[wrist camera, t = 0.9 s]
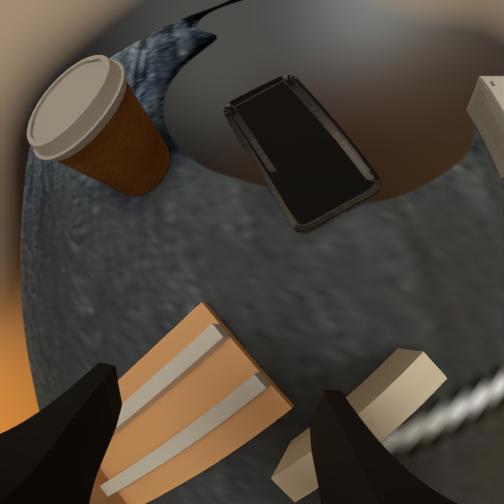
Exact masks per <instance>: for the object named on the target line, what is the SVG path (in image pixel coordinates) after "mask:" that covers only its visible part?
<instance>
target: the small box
mask: <svg viewBox="0 0 504 504" xmlns="http://www.w3.org/2000/svg"><path fill="white" fill-rule="evenodd" d="M467 111H468V113H469V115H470V117H471V119H472V121H473V123H474V125H476V127H477V129H478V131H479V133H480V135H481V137H482V139H483V141H484V143H485V145H486V147H487V149H488V151H489V153H490V155H491V157H492V160H493V162H494V164H495V166H496V168H497V171H498V173H499V175H500V177H501V178H504V76H480V77H479V79H478V81H477V84H476V87H475V89H474V92H473V95H472V97H471V100H470V102H469V105H468V107H467Z"/></svg>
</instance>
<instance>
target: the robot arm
mask: <svg viewBox="0 0 504 504" xmlns="http://www.w3.org/2000/svg"><path fill="white" fill-rule="evenodd" d="M121 408H122V400H121V395H120V389H119V384H118V379H117V373H116V367H115V366H113V365H109V364H105V363H98V364H97V365H96V366H95V367H93V368H92V369H91V370H90V371H89V372H88V373H87V374H85V375H84V376H83V377H82V378H81V379H80V380H78V381H77V382H76V383H75V384H74V385H73V386H72V387H70V388H69V389H68V390H67V391H65V392H64V393H63V394H62V395H61V396H59V397H58V398H57V399H56V400H54V401H53V402H52V403H50V404H49V405H48V406H46V407H45V408H43V409H42V410H41V411H39V412H38V413H37V414H35V415H33V416H32V417H30V418H29V419H27V420H26V421H24V422H22V423H21V424H19V425H17V426H15V427H13V428H11V429H9V430H8V431H5V432H3V433H1V434H0V504H89V503H90V498H91V494H92V490H93V486H94V482H95V479H96V476H97V473H98V471H99V468H100V466H101V463H102V461H103V459H104V456H105V454H106V451H107V449H108V446H109V444H110V442H111V439H112V437H113V434H114V432H115V429H116V426H117V423H118V419H119V416H120V412H121ZM310 440H311V452H312V457H313V462H314V468H315V473H316V478H317V483H318V488H319V493H320V498H321V504H457V503H455V502H453V501H451V500H449V499H448V498H446V497H444V496H443V495H441V494H439V493H438V492H436V491H435V490H433V489H432V488H430V487H429V486H427V485H426V484H425V483H423V482H422V481H420V480H419V479H418V478H417V477H415V476H414V475H413V474H412V473H410V472H409V471H408V470H407V469H406V468H405V467H404V466H403V465H401V464H400V463H399V462H398V461H397V460H396V459H395V458H394V457H393V456H392V455H391V454H390V453H389V452H388V451H387V449H386V448H385V447H384V446H383V445H382V444H381V443H380V442H379V440H378V439H377V438H376V437H375V436H374V434H373V433H372V432H371V431H370V429H369V428H368V427H367V426H366V424H365V423H364V422H363V421H362V419H361V418H360V417H359V415H358V414H357V412H356V411H355V410H354V408H353V407H352V406H351V404H350V403H349V401H348V400H347V399H346V397H345V396H344V395H343V393H342V392H341V391H340V390H324V391H323V394H322V397H321V399H320V402H319V404H318V407H317V409H316V412H315V414H314V417H313V419H312V422H311V424H310Z"/></svg>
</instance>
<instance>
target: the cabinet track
mask: <svg viewBox="0 0 504 504" xmlns="http://www.w3.org/2000/svg"><path fill="white" fill-rule="evenodd" d="M118 384H119V389H120V395H121V400H122V408H121V412H120V416H119V419H118V423H117V426H116V429H115V432H114V434H113V437H112V439H111V442H110V444H109V446H108V449H107V451H106V454H105V456H104V459H103V461H102V463H101V466H100V468H99V471H98V473H97V476H96V479H95V482H94V486H93V490H92V494H91V498H90V503H89V504H145V503H147V502H149V501H151V500H153V499H155V498H157V497H159V496H161V495H163V494H164V493H166V492H168V491H170V490H172V489H173V488H175V487H177V486H179V485H180V484H182V483H184V482H186V481H187V480H189V479H191V478H192V477H194V476H196V475H197V474H199V473H201V472H202V471H204V470H206V469H207V468H209V467H210V466H212V465H213V464H215V463H217V462H218V461H220V460H221V459H223V458H224V457H226V456H227V455H229V454H230V453H232V452H233V451H235V450H236V449H238V448H239V447H241V446H242V445H243V444H245V443H246V442H248V441H249V440H251V439H252V438H253V437H255V436H256V435H257V434H259V433H260V432H262V431H263V430H264V429H266V428H267V427H268V426H270V425H271V424H272V423H274V422H275V421H276V420H278V419H279V418H280V417H282V416H283V415H284V414H285V413H287V412H288V411H289V410H290V409H292V408H293V406H294V405H293V404H292V403H291V401H290V400H289V399H288V398H287V397H286V396H285V395H284V394H283V393H282V391H281V390H280V389H279V388H278V387H277V386H276V385H275V384H274V382H273V381H272V380H271V379H270V378H269V377H268V376H267V374H266V373H265V372H264V371H263V370H262V369H261V368H260V366H259V365H258V364H257V363H256V362H255V361H254V359H253V358H252V357H251V356H250V355H249V354H248V352H247V351H246V350H245V349H244V348H243V347H242V345H241V344H240V343H239V342H238V341H237V339H236V338H235V337H234V336H233V335H232V333H231V332H230V331H229V330H228V329H227V327H226V326H225V325H224V324H223V322H222V321H221V320H220V319H219V318H218V316H217V315H216V314H215V313H214V311H213V310H212V309H211V308H210V306H209V305H208V304H207V303H204V302H201V303H200V304H199V305H198V306H197V307H196V308H195V309H194V310H193V311H192V312H191V313H190V314H188V315H187V316H186V317H185V318H184V319H183V320H182V321H181V322H180V323H179V324H178V325H177V326H176V327H175V328H174V329H173V330H171V331H170V332H169V333H168V334H167V335H166V336H165V337H164V338H163V339H162V340H161V341H160V342H159V343H158V344H157V345H155V346H154V347H153V348H152V349H151V350H150V351H149V352H148V353H147V354H146V355H145V356H144V357H143V358H142V359H141V360H139V361H138V362H137V363H136V364H135V365H134V366H133V367H132V368H131V369H130V370H129V371H128V372H127V373H126V374H125V375H123V376H122V377H121V378H120V379H119V380H118Z"/></svg>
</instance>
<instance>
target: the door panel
mask: <svg viewBox="0 0 504 504" xmlns="http://www.w3.org/2000/svg"><path fill="white" fill-rule="evenodd" d="M446 379H447V378H446V376H445V375H444V374H443V373H442V372H441V371H440V370H439V368H438V367H437V366H436V365H435V364H434V363H433V362H432V361H431V360H430V358H429V357H428V356H427V355H426V354H425V353H424V352H422V351H415V350H408V349H401V348H398V349H397V350H396V351H395V352H394V353H393V354H392V355H391V356H390V357H389V358H388V359H387V360H386V361H385V362H384V363H383V364H382V365H381V366H380V367H379V368H378V369H376V370H375V371H374V372H373V373H372V374H371V375H370V376H369V377H368V378H367V379H366V380H365V381H364V382H363V383H361V384H360V385H359V386H358V387H357V388H356V389H355V390H354V391H353V392H351V393H350V394H349V395H348V396H347V397H346V399H347V400H348V401H349V403H350V404H351V406H352V407H353V408H354V410H355V411H356V412H357V414H358V415H359V417H360V418H361V419H362V421H363V422H364V423H365V424H366V426H367V427H368V428H369V429H370V431H371V432H372V433H373V434H374V436H375V437H376V438H377V439H378V440H379V442H381V441H382V440H383V439H385V438H386V437H387V436H388V435H389V434H390V433H392V432H393V431H394V430H395V429H396V428H397V427H398V426H399V425H401V424H402V423H403V422H404V421H405V420H406V419H407V418H408V417H409V416H410V415H411V414H413V413H414V412H415V411H416V410H417V409H418V408H419V407H420V406H421V405H422V404H423V403H424V402H425V401H426V400H427V399H428V398H429V397H430V396H431V395H432V394H433V393H434V392H435V391H436V390H437V389H438V388H439V386H440V385H441V384H442V383H443V382H444V381H445V380H446ZM271 479H272V480H273V481H274V482H275V483H276V484H277V485H278V486H279V487H280V488H281V489H282V490H283V491H284V492H285V493H286V494H287V495H288V496H289V497H290V498H291V499H292V500H293V501H294V502H296V501H298V500H300V499H301V498H303V497H305V496H306V495H308V494H309V493H311V492H313V491H314V490H316V489H317V488H318V483H317V478H316V473H315V468H314V462H313V457H312V452H311V440H310V427H309V428H308V429H306V430H305V431H304V432H302V433H301V434H300V435H298V436H297V437H296V438H294V439H293V440H292V441H291V442H290V444H289V446H288V448H287V450H286V451H285V453H284V455H283V457H282V459H281V461H280V463H279V465H278V466H277V468H276V470H275V472H274V474H273V476H272V477H271Z"/></svg>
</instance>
